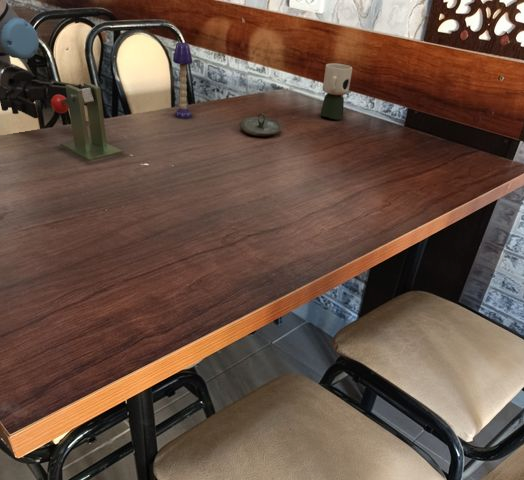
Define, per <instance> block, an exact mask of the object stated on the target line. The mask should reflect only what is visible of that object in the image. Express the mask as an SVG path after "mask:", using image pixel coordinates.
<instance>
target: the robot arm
mask: <svg viewBox="0 0 524 480" xmlns="http://www.w3.org/2000/svg"><path fill="white" fill-rule="evenodd" d="M39 45H40V41H39V36H38V33H37V31H36V29H35V27H34V26H33V25H32V24H31V23H30V22H28V21H27V20H26V19H24V18H22V17H19V16H18V14H17V13H16V12H15V11H14V10H13V8H12V7H11V6H10V5H9V4H8V2H7V1H6V0H0V108H1V111H3V112H6V111H9V109H11V112H12V114H13V115H18V114H20V113H19V112H21V113H23V114H25V115H26V116H29V117H31V118H33V119H38V118H39V114H38V108H37V104H36V103H35V102H36V101H41V100H47V101H51V99H52V97H53V96H55V95H62V96H64V97H65V98H66V99H67V93H66V87H65V85H72V86H74V87H76V88H79V89H84V85H82V84H81V83H79V84H75V83H68V82H62V81H58V80H55V79H50V80H49V81H41V80H39V79H38V78H37V76H35V74H34V73H32V72H31V71H30V70H28V69H27V68H24V67H21V66H19V65H16V64H13V63H12V61H11V58H14V59H19V60H28V59H31V58H33V57H34V56H35V55H36V53H37V52H38V49H39ZM47 94H48V95H47ZM85 106H86V107H87V104H86V103H85V104H84V107H85Z"/></svg>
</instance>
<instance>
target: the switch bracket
mask: <svg viewBox="0 0 524 480" xmlns="http://www.w3.org/2000/svg"><path fill="white" fill-rule="evenodd" d="M83 86H84V88H91V92H92V95H93V99H94V101H93V102H89V103H86V104H87V106H86V110H85V105H84V101H83V94H82V90H81V89H79V88H76V87H74V86H72V85H65V87H66V93H67V99H68V106H69V109H68V111H69V119H70V124H71V131H72V135H73V136H72V137H73V140H68V141H63V142H59V146H60V147H61V148H63V149H65V150H68V151H69V152H71V153H73V154H75V155H77V156H79V157H80V158H82V159H84V160H86V161H87V162H91V161H96V160H101V159H105V158H111V157H114V156H119V155H123V154H124V152H123V150H122V149H120V148H118V147H115V146H113V145H111V144H109V143H108V142H107V136H106V126H105V116H104V110H103V109H104V108H103V102H102V100H103V99H102V92H101V87H100V86H98V85H95V84H93V83H90V82H89V81H87V82H83ZM86 111H87V116H86ZM87 118H88V124H87ZM88 126H89V131H90V132H89V131H88ZM89 135H90V136H89Z"/></svg>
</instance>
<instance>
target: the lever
mask: <svg viewBox="0 0 524 480" xmlns="http://www.w3.org/2000/svg"><path fill="white" fill-rule="evenodd" d="M81 90H82V94H83V101H84V104H85V103H89V102H93V101H94V99H93V95H92V92H91V88H84V89H81ZM50 106H51V108H52V110H53V111H54V112H56V113H58V114H65V113H67V112H68V111H69V106H68V99H66V98H65V97H64V96H62V95H55V96H53V97H52V99H51V100H50Z"/></svg>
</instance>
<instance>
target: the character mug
mask: <svg viewBox="0 0 524 480" xmlns="http://www.w3.org/2000/svg"><path fill="white" fill-rule="evenodd" d="M352 75H353V67H352V66H351V65H348V64H343V63H333V62H332V63H326V64H325V70H324V75H323V76H324V77H323V84H322V91H323V92H324V93H326V94H325V95H324V97H323V102H322V105H321V109H320V110H321V111H320V114H319V115H320V116H321V117H325V118H328V120H341V119H343V117H344V104H345V103H344V102H345V99H344V95H348V94H349V91H350V87H351V80H352Z"/></svg>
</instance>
